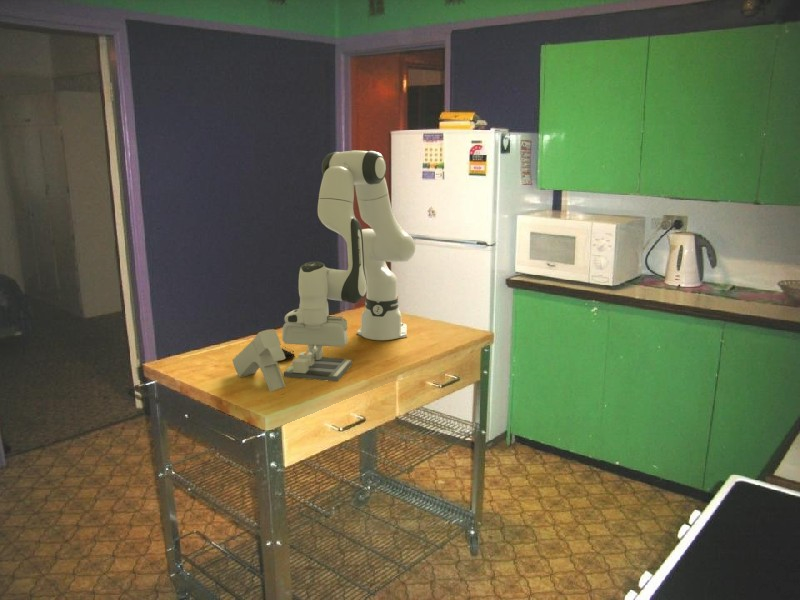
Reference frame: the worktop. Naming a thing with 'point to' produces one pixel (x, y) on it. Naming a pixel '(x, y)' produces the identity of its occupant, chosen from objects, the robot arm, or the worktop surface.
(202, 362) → the worktop surface
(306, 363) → the block
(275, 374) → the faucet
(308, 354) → the breaker
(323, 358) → the panel
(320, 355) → the block
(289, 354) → the hairbrush
